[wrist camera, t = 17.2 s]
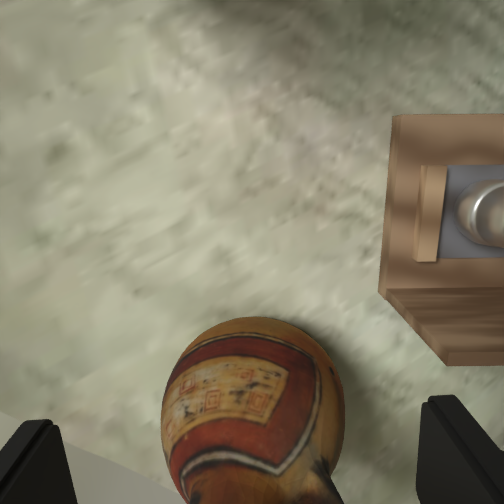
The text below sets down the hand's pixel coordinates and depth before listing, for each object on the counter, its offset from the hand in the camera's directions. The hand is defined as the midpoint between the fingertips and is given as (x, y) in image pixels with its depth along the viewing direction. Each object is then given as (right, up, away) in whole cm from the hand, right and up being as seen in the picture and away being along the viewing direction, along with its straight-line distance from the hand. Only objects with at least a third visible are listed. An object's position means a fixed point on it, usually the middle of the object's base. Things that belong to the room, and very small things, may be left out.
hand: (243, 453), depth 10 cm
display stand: (+24, +10, +34) cm, 43 cm away
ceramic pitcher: (+1, -10, +39) cm, 41 cm away
